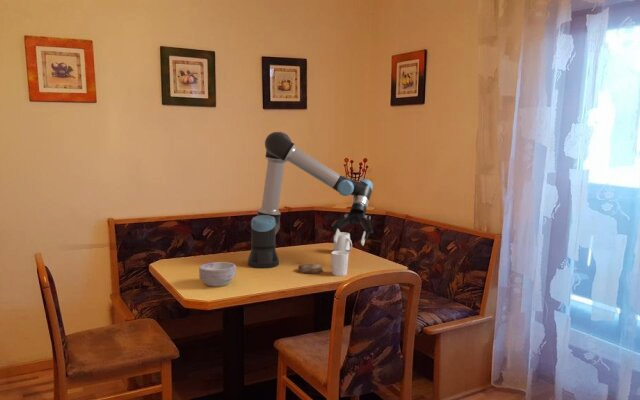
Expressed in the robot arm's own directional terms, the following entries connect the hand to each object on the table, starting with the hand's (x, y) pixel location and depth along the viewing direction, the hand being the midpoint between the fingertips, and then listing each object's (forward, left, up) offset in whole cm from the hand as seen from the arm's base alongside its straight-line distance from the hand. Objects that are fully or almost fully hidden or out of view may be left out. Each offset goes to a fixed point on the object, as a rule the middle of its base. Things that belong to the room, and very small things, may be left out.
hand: (348, 242), depth 242 cm
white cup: (-6, -6, -13) cm, 16 cm away
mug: (+7, +33, -13) cm, 36 cm away
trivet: (-18, +2, -13) cm, 22 cm away
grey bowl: (-61, -11, -13) cm, 63 cm away
